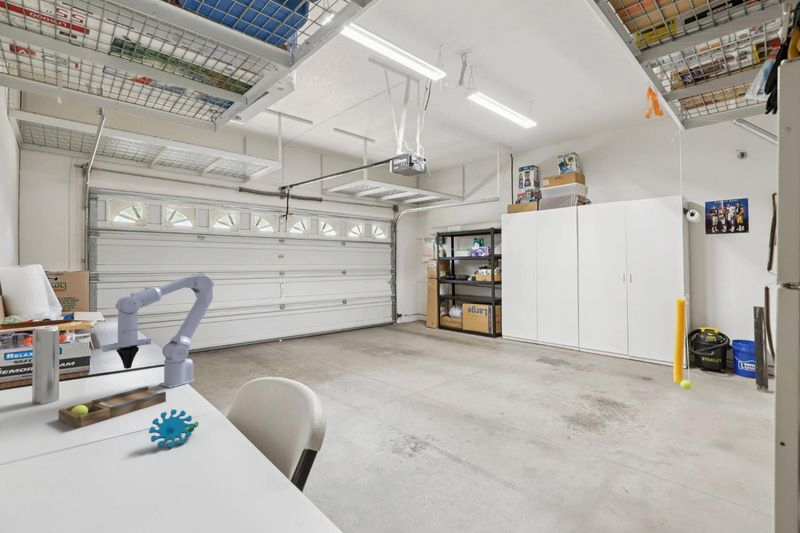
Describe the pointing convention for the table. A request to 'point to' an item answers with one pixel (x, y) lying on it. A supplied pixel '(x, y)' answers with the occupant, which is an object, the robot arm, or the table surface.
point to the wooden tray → (112, 406)
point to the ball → (80, 410)
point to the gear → (172, 428)
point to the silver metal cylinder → (45, 365)
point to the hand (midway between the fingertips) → (127, 367)
